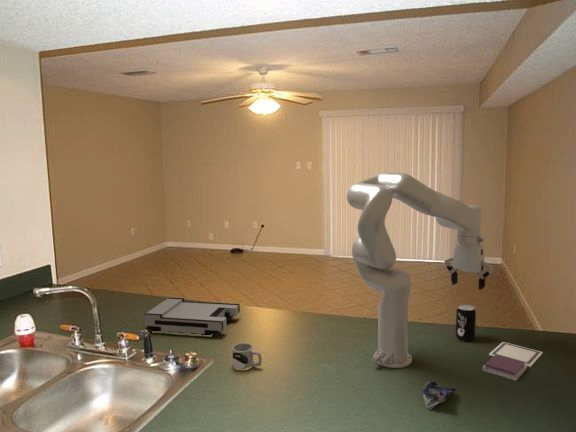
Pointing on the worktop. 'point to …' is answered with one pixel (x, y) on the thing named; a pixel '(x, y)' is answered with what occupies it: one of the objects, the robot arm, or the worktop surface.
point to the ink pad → (505, 367)
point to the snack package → (435, 393)
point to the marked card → (517, 353)
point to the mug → (244, 356)
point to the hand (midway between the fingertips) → (467, 286)
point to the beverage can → (465, 323)
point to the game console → (190, 316)
